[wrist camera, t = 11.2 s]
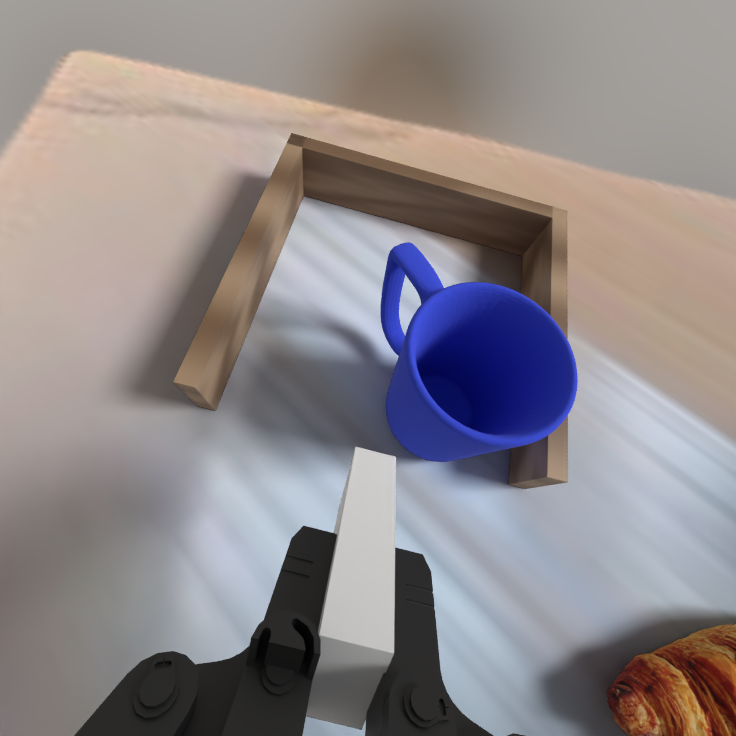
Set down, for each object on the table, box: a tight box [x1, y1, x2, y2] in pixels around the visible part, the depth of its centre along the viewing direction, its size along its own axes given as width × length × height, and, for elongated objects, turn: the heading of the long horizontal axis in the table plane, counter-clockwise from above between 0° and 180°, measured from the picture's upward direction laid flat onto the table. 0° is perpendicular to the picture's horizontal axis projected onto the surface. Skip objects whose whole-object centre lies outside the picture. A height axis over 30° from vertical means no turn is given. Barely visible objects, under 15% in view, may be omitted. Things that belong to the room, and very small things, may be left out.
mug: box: [381, 243, 577, 462], centre depth 22 cm, size 8×12×10 cm
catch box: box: [173, 133, 568, 489], centre depth 27 cm, size 21×22×4 cm
